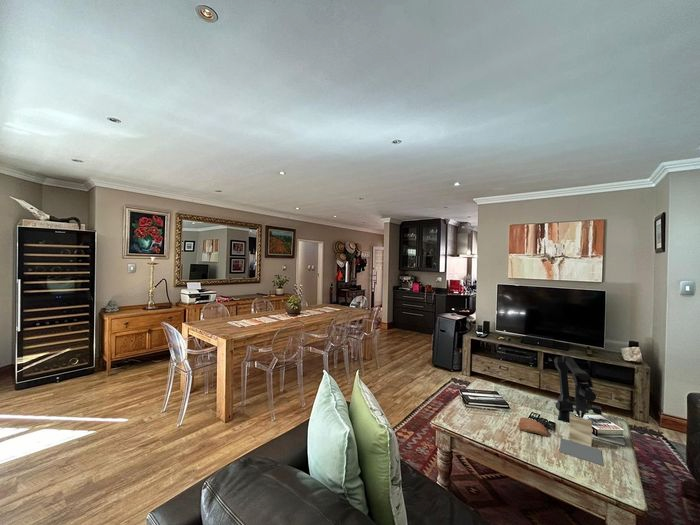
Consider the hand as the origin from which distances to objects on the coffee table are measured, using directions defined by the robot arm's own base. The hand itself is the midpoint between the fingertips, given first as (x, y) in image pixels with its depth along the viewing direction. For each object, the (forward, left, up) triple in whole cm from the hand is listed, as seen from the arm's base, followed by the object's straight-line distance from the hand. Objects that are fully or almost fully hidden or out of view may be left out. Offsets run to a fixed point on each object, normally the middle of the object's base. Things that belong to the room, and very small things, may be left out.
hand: (580, 420), depth 179 cm
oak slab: (+6, 0, -10) cm, 11 cm away
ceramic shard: (+6, -24, -10) cm, 27 cm away
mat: (+17, 0, -10) cm, 20 cm away
